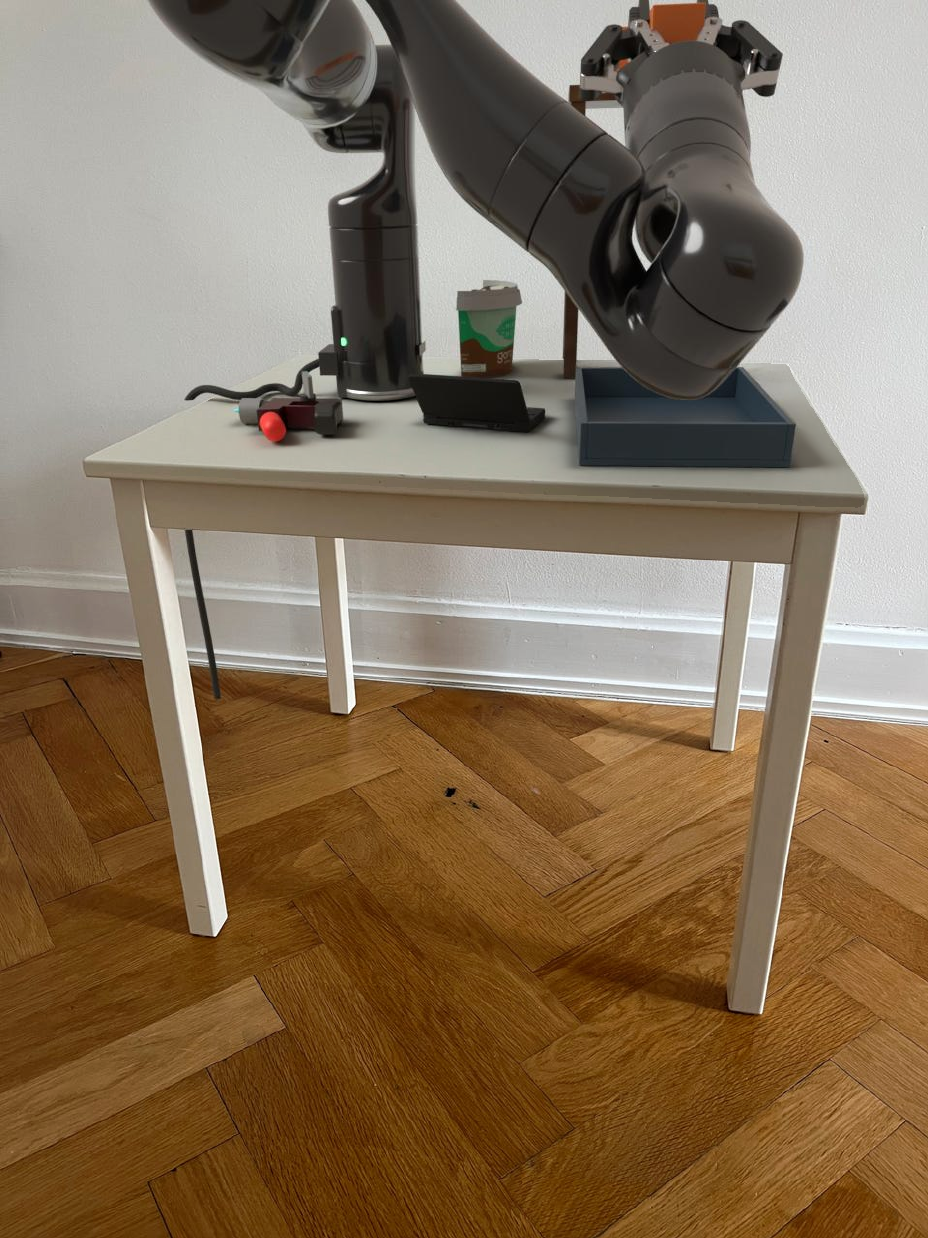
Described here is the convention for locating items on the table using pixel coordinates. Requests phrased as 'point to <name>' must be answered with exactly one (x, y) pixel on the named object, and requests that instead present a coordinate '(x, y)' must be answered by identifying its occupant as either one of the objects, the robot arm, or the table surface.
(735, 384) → the tray
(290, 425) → the toy gun
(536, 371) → the table surface
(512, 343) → the food container
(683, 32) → the orange t-shaped block
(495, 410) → the handheld gaming console
